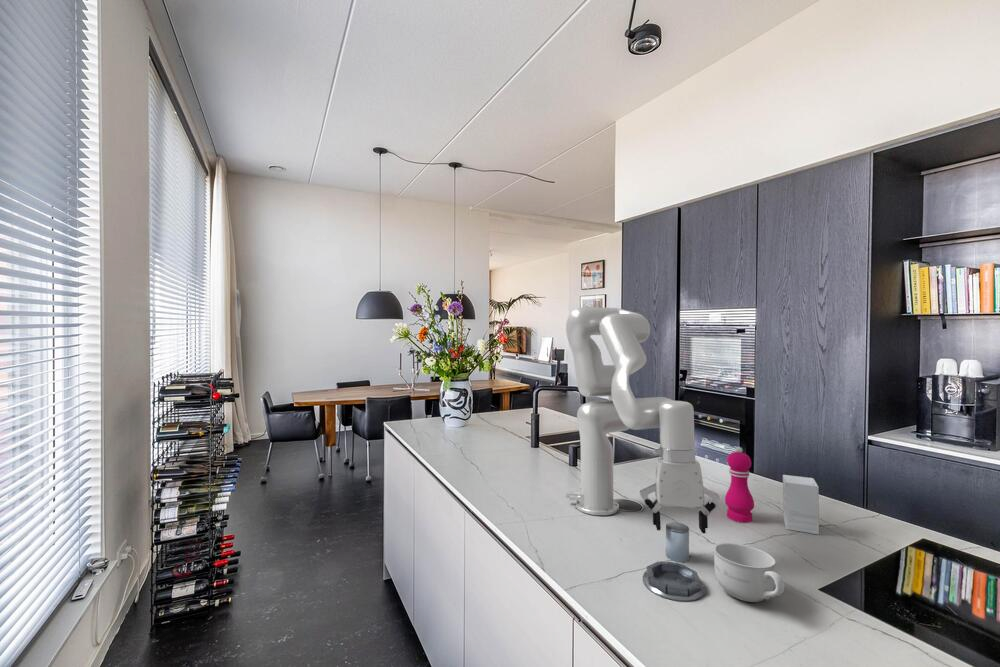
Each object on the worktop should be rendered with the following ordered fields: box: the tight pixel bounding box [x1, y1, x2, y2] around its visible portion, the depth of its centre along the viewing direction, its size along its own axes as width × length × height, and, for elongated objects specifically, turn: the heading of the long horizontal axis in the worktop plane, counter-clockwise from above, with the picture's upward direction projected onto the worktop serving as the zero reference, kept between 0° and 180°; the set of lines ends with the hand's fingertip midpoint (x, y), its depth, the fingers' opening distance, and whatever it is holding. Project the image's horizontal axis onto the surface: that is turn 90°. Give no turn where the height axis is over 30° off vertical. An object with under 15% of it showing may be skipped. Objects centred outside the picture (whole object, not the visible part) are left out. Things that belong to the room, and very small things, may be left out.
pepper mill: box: [724, 446, 755, 524], centre depth 124 cm, size 7×7×20 cm
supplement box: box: [782, 474, 820, 535], centre depth 118 cm, size 7×7×13 cm
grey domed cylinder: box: [665, 521, 690, 563], centre depth 102 cm, size 5×5×7 cm
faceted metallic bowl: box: [642, 560, 706, 602], centre depth 91 cm, size 12×12×2 cm
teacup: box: [713, 542, 785, 603], centre depth 87 cm, size 14×11×8 cm
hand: (679, 529), depth 102 cm, fingers open, 9 cm apart
